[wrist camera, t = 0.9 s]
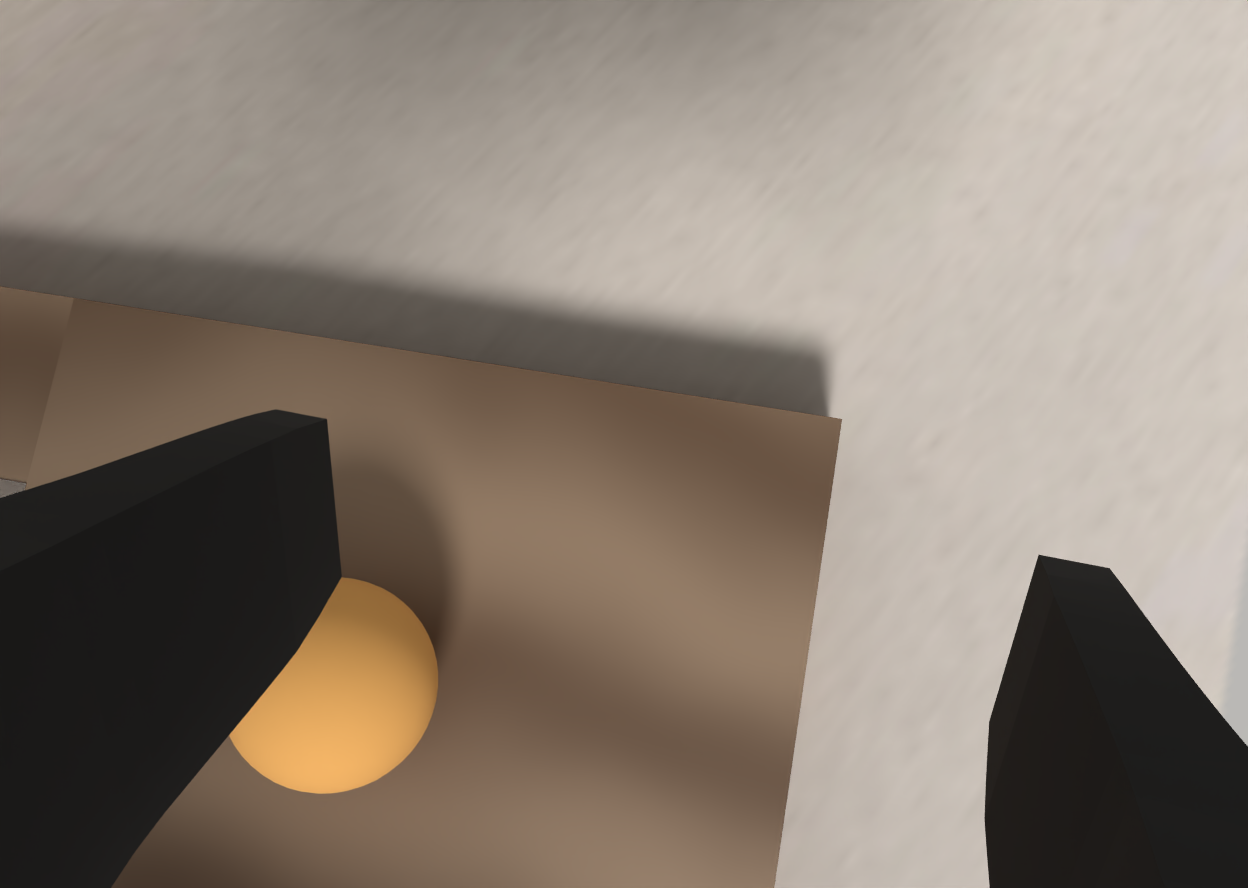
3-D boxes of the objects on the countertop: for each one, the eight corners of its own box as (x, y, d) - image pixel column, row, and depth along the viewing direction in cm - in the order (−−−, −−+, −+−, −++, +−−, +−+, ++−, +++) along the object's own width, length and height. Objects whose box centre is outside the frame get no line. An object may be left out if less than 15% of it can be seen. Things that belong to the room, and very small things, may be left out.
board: (734, 1082, 23) (739, 1127, 21) (-388, 847, 25) (-480, 867, 23) (829, 434, 25) (842, 418, 23) (-215, 268, 27) (-286, 241, 25)
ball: (437, 793, 22) (382, 831, 18) (249, 757, 22) (156, 787, 18) (474, 598, 23) (429, 594, 19) (291, 565, 23) (209, 555, 19)
